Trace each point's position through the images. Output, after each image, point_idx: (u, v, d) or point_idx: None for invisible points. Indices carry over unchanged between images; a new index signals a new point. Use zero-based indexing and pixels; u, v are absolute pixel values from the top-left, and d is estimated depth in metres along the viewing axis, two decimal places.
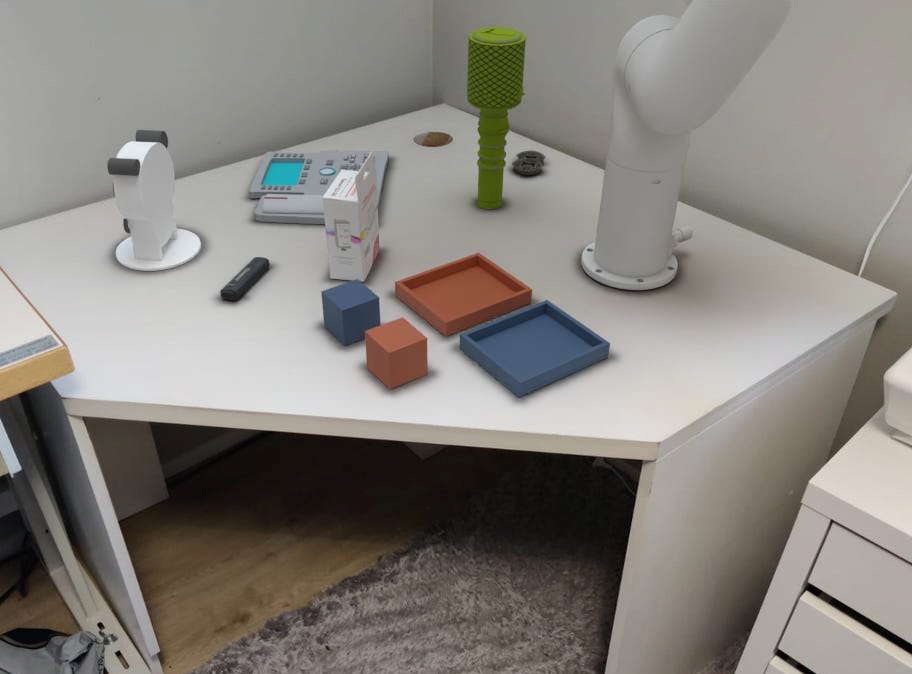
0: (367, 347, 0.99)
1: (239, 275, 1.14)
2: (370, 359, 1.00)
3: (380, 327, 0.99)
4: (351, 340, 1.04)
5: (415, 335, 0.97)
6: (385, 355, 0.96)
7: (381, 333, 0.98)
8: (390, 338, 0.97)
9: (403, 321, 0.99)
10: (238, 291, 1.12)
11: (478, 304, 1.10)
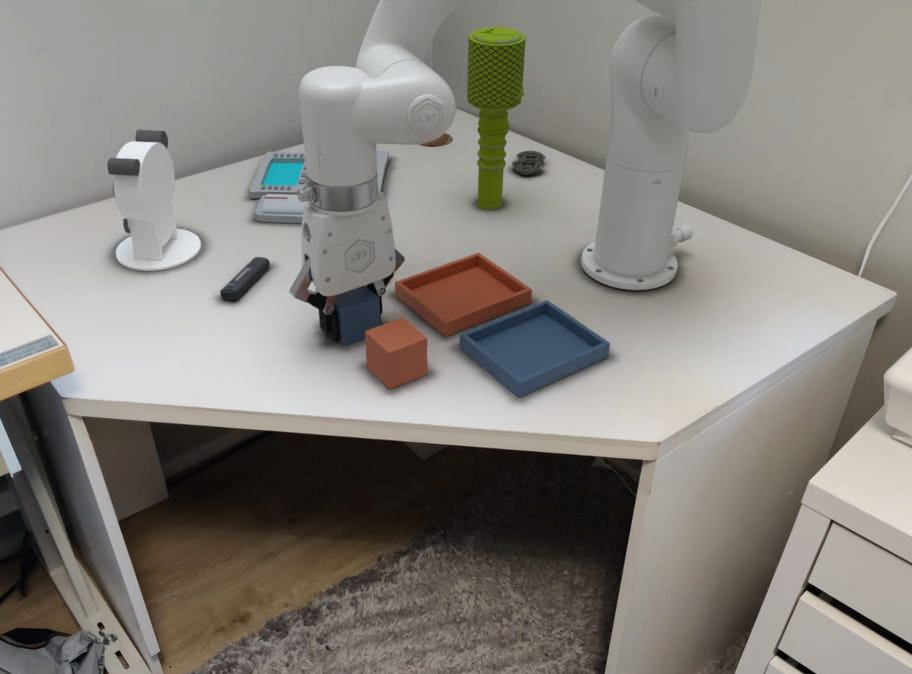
0: (367, 347, 0.99)
1: (239, 275, 1.14)
2: (370, 359, 1.00)
3: (380, 327, 0.99)
4: (351, 340, 1.04)
5: (415, 335, 0.97)
6: (385, 355, 0.96)
7: (381, 333, 0.98)
8: (390, 338, 0.97)
9: (403, 321, 0.99)
10: (238, 291, 1.12)
11: (478, 304, 1.10)
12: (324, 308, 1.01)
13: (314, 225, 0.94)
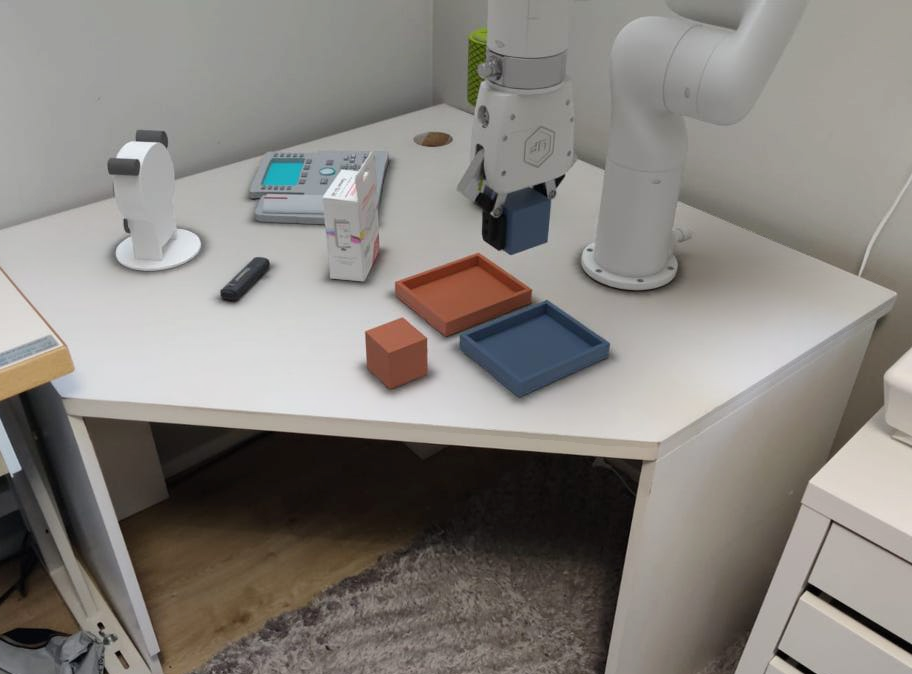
0: (367, 347, 0.99)
1: (239, 275, 1.14)
2: (370, 359, 1.00)
3: (380, 327, 0.99)
4: (517, 249, 0.92)
5: (415, 335, 0.97)
6: (385, 355, 0.96)
7: (381, 333, 0.98)
8: (390, 338, 0.97)
9: (403, 321, 0.99)
10: (238, 291, 1.12)
11: (478, 304, 1.10)
12: (493, 210, 0.89)
13: (495, 106, 0.82)
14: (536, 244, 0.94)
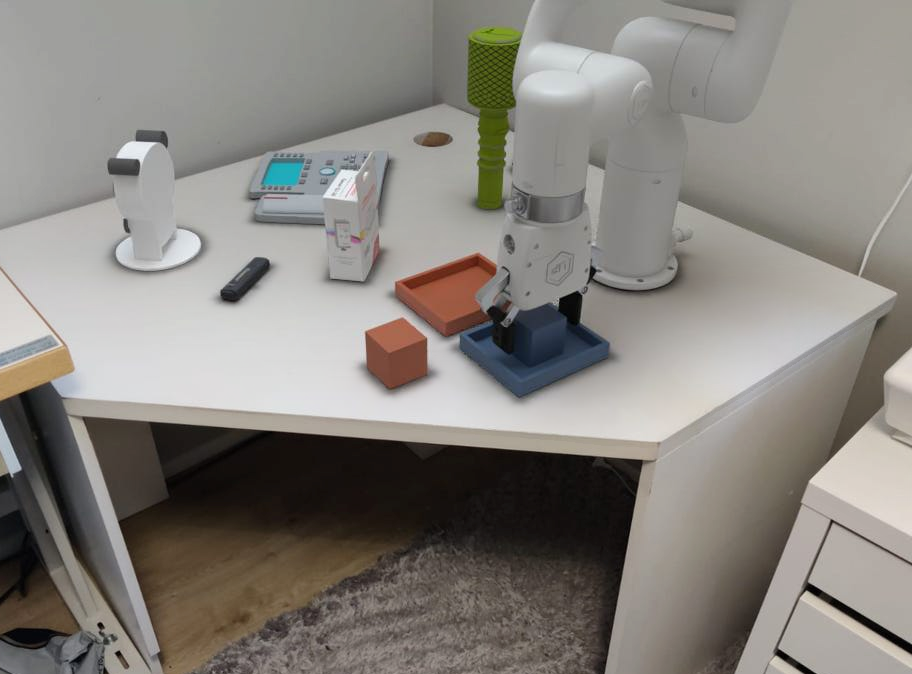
0: (367, 347, 0.99)
1: (239, 275, 1.14)
2: (370, 359, 1.00)
3: (380, 327, 0.99)
4: (536, 362, 1.00)
5: (415, 335, 0.97)
6: (385, 355, 0.96)
7: (381, 333, 0.98)
8: (390, 338, 0.97)
9: (403, 321, 0.99)
10: (238, 291, 1.12)
11: (478, 304, 1.10)
12: (504, 318, 0.95)
13: (520, 237, 0.90)
14: (553, 356, 1.01)
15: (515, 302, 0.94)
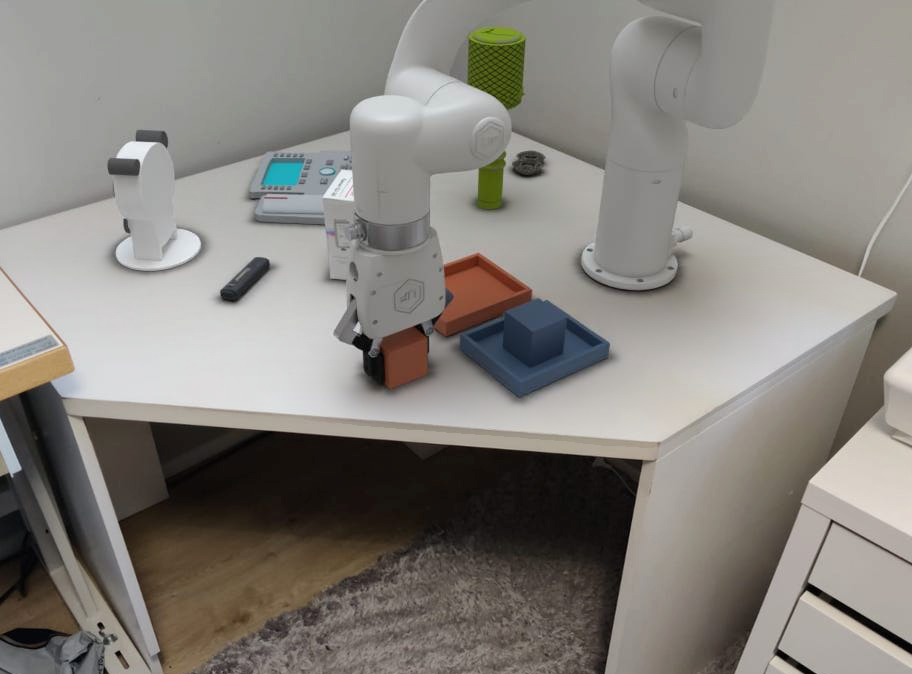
0: None
1: (239, 275, 1.14)
2: None
3: None
4: (536, 362, 1.00)
5: (415, 335, 0.97)
6: (385, 355, 0.96)
7: None
8: (390, 338, 0.97)
9: None
10: (238, 291, 1.12)
11: (478, 304, 1.10)
12: (369, 350, 0.95)
13: (362, 265, 0.88)
14: (553, 356, 1.01)
15: (363, 330, 0.92)
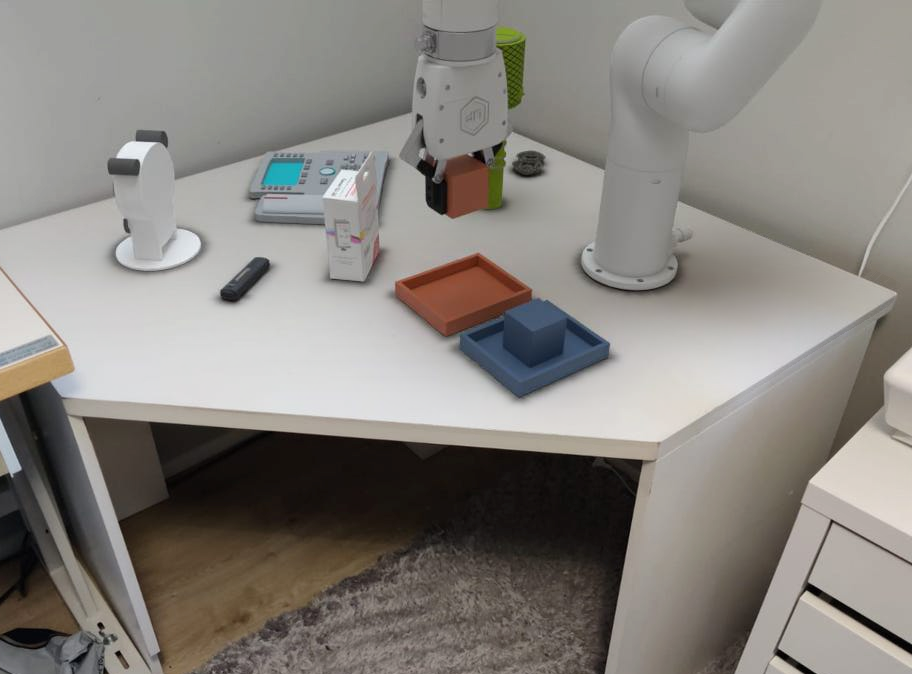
0: None
1: (239, 275, 1.14)
2: None
3: None
4: (536, 362, 1.00)
5: (477, 164, 0.99)
6: (448, 181, 0.97)
7: None
8: (452, 167, 0.98)
9: None
10: (238, 291, 1.12)
11: (478, 304, 1.10)
12: (434, 176, 0.96)
13: (431, 77, 0.89)
14: (553, 356, 1.01)
15: (430, 150, 0.93)
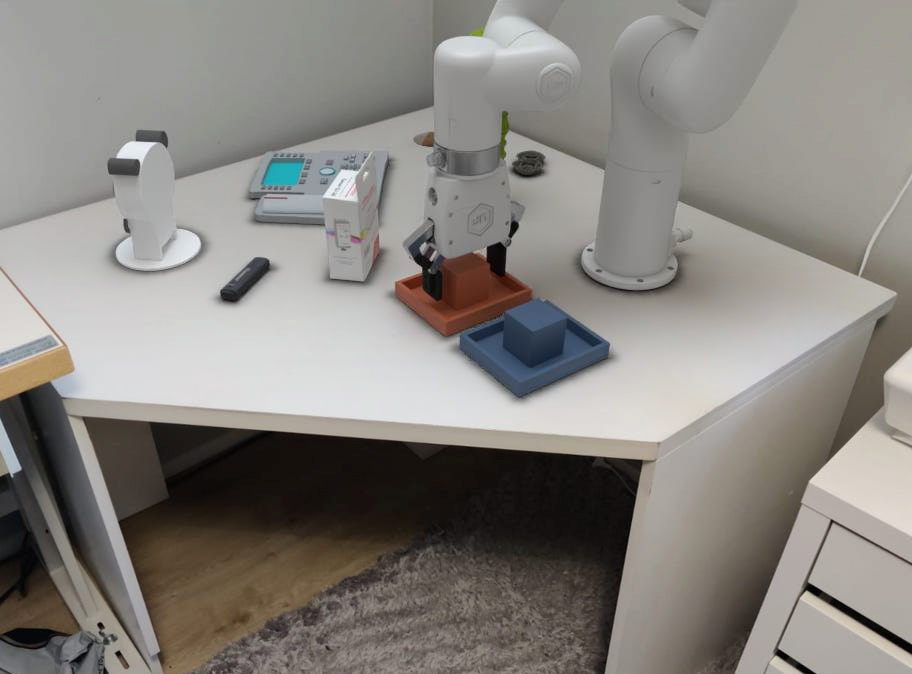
0: None
1: (239, 275, 1.14)
2: None
3: None
4: (536, 362, 1.00)
5: (479, 262, 1.09)
6: (453, 278, 1.07)
7: (448, 260, 1.09)
8: (457, 264, 1.08)
9: None
10: (238, 291, 1.12)
11: (478, 304, 1.10)
12: (431, 266, 1.05)
13: (442, 189, 0.99)
14: (553, 356, 1.01)
15: (440, 250, 1.03)
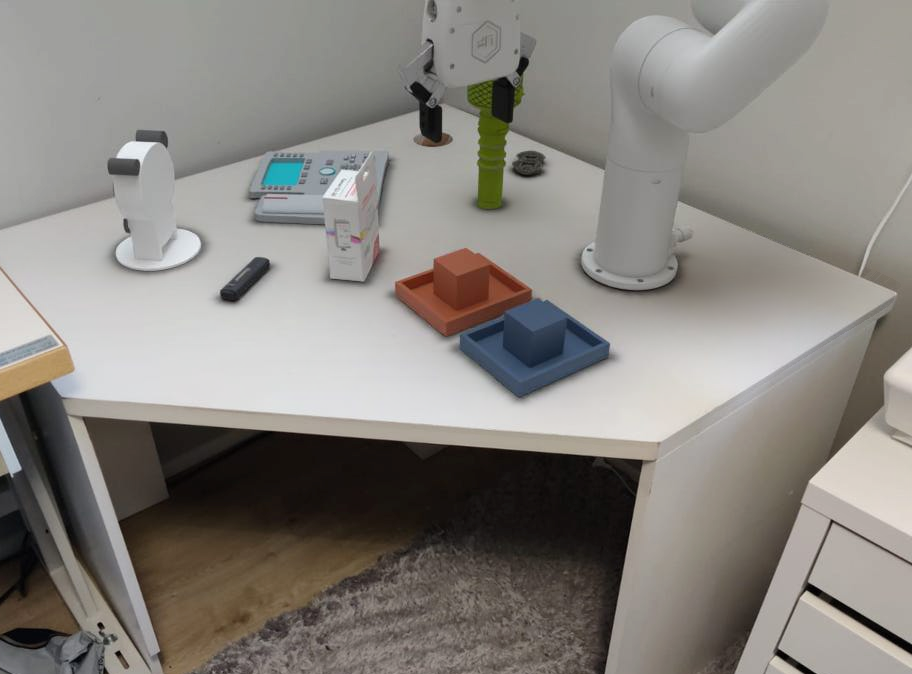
0: (435, 274, 1.10)
1: (239, 275, 1.14)
2: (437, 285, 1.11)
3: (447, 255, 1.10)
4: (536, 362, 1.00)
5: (479, 262, 1.09)
6: (453, 278, 1.07)
7: (448, 260, 1.09)
8: (457, 264, 1.08)
9: (467, 251, 1.11)
10: (238, 291, 1.12)
11: (478, 304, 1.10)
12: (429, 97, 0.92)
13: None
14: (553, 356, 1.01)
15: (440, 77, 0.91)
